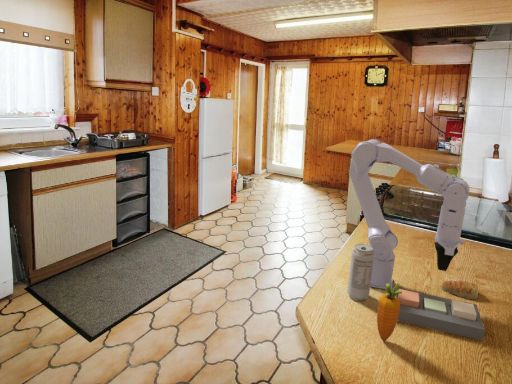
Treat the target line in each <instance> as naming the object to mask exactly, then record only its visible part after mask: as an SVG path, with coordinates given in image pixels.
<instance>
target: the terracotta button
mask: <svg viewBox="0 0 512 384" xmlns="http://www.w3.org/2000/svg"><path fill="white" fill-rule="evenodd" d="M402 289H403V288H400V289H399V290H400V291H402V293H399V294H398V299H399V300H400V304H401V305H406V306H410V307H415V308H418V307H419V293H420V292H419V293H416V292H417V291H414V292H411V291H412V290H409V291H407V290H408V289H405V290H402Z"/></svg>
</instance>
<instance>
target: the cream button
mask: <svg viewBox="0 0 512 384" xmlns="http://www.w3.org/2000/svg"><path fill="white" fill-rule="evenodd" d="M454 300H455V299H452V301H451V306H450V310H451V315H452V316H455V317H460V318H464V319H469V320H473V321H475V320H476V316H477V314H476V311H475V308H474V305H473V304H474V303H471V304H469V303H470V302H467V303H464V302H465V301H462V302H459V301H460V300H457V301H454Z"/></svg>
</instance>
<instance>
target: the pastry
mask: <svg viewBox="0 0 512 384" xmlns="http://www.w3.org/2000/svg"><path fill="white" fill-rule="evenodd" d="M441 288H442V289H443V290H444V291H445V292H447V293H450V294H452V295H455V296H456V297H461V298H465V299H469V300H477V299H478V298H479V292H478V291H479V290H478V284H477V283H475V282H469V281H467V280H463V279H460V280H448V281H447V280H446V281H444V282H442V284H441Z"/></svg>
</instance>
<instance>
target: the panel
mask: <svg viewBox="0 0 512 384" xmlns="http://www.w3.org/2000/svg"><path fill="white" fill-rule="evenodd" d="M394 287H395V286H392V290H391V292H392V291H393V290H394ZM399 289H402V290H407V291H411V292H416V293H419V307H418V308H415V307H410V306H406V305H401V304H400V310H399V315H398V320H397V322H401V323H406V324H410V325H414V326H418V327H422V328H426V329H430V330H435V331H440V332H444V333H448V334H452V335H456V336H459V337H465V338H469V339H473V340H477V341H484V336H485V332H486V328H485V326H484V322H483V320H482V316H481V314H480V311H479V308H478V305H477V304H476V303H471V302H465V301H460V300H456V299H451V298H447V297H442V296H437V295H432V294H428V293H423V292H418V291H414V290H413V291H412V290H409V289H404V288H399V287H398V288H397V290H396V291H399ZM395 297H396V298H398V294H397V295H396V296H395ZM424 298H428V299H433V300H437V301H442V302H445V306H446V311H447V312H446V314H442V313H437V312H433V311H428V310H424V309H423V301H424ZM452 300H454V301H459V302H464V303H469V304H473V305H474V308H475V311H476V314H477V316H476V320H475V321H473V320H469V319H464V318H460V317H455V316H452V315H451V310H450V306H451V301H452Z"/></svg>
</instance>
